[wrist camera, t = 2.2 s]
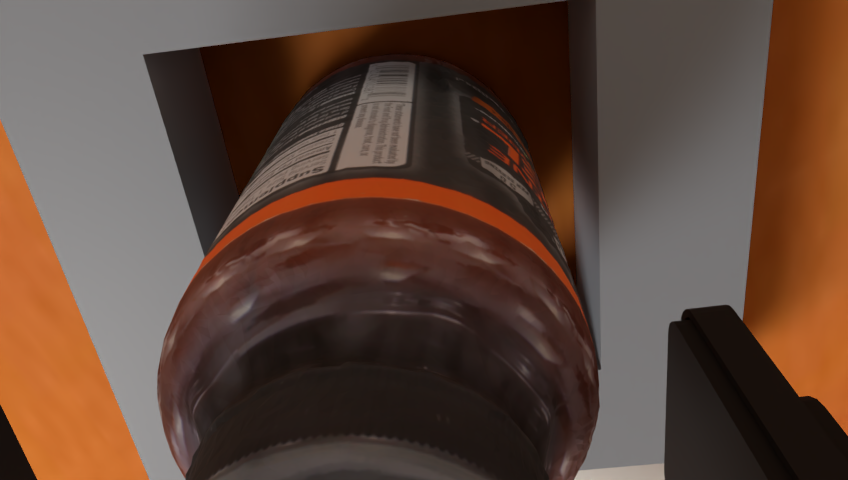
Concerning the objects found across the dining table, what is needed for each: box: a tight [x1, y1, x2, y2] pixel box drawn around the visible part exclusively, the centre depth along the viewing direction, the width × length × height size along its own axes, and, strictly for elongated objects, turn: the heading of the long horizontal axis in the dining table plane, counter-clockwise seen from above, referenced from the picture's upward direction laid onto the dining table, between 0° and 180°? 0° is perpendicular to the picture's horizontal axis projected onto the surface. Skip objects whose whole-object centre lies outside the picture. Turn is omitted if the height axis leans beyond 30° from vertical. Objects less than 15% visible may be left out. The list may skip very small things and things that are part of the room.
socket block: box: [0, 0, 773, 480], centre depth 16 cm, size 14×14×3 cm
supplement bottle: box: [157, 54, 600, 480], centre depth 12 cm, size 6×6×11 cm
